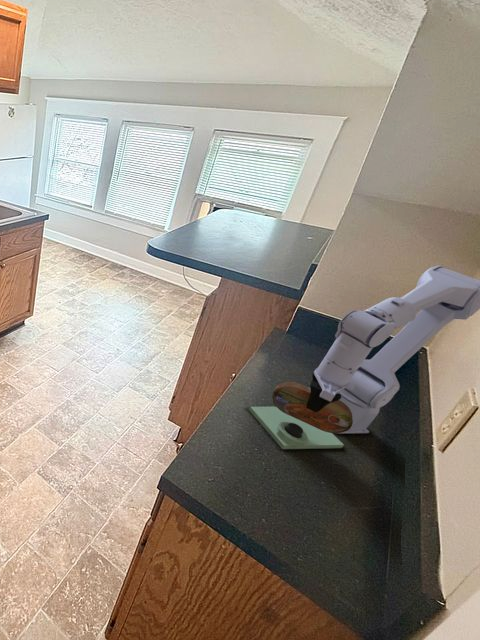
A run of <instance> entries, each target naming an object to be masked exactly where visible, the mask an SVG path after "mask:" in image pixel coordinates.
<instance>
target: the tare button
mask: <svg viewBox="0 0 480 640" xmlns="http://www.w3.org/2000/svg"><path fill="white" fill-rule="evenodd" d="M285 430H286V432H287V433H288V434H290V435H291V436H293V437H296V438H299V437H300V436H301V434H302V433H303V429H302V428H301V427H300V426H299V425H297V424H295V423H289V424H288V426H287V427H286V429H285Z"/></svg>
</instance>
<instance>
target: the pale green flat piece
mask: <svg viewBox="0 0 480 640" xmlns="http://www.w3.org/2000/svg"><path fill="white" fill-rule="evenodd" d="M248 411H249V412H250V413H251V415H253V417H254V418H255V420H257V421H258V423H260V425H261V426H262V427H263V429H265V430H266V432H267V433H268V434H269V435H270V437H271V438H272V439H273V440H274V442H276V443H277V445H278V446H279V447H280V448H281V449H282V450H303V449H304V450H307V449H308V450H309V449H310V450H311V449H317V450H318V449H342V448H343V447H344V446H345V444H344V443H343V442H342V441H341V440H340V439H338V437H337V436H336V435H334V433H329V432H325V431H322V430H320V429H318V428H316V427H313V426H311V425H309V424H307V423H305V422H303V421H300V420H298V419H296V418H294V417H292V416H290V415H287V414H285V413H283V412H282V411H280V410H279V409H278V408H277V407H276V406H249V408H248ZM289 423H295V424H297V425H299V426H300V427H301V428H302V429H303V433H302V434H301V436H300V437H299V438H296V437H293V436H291V435H290V434H288V433H287V432H286V430H285V429H286V427H287V426H288V424H289Z"/></svg>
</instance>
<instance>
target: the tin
mask: <svg viewBox="0 0 480 640" xmlns="http://www.w3.org/2000/svg"><path fill="white" fill-rule="evenodd" d="M310 393H311V389H310V386H307V385H304V384H302V383H299V382H295V381H284V382H282V383H279V384H278V385H277V386H276V387H275V389H274V391H273V392H272V395H271V397H272V399H271V400H272V402H273V404H274V407H277V408H278V409H279V410H280V411H282V412H283V413H285V414H287V415H290V416H292V417H294V418H296V419H298V420H300V421H303V422H305V423H307V424H309V425H311V426H313V427H316V428H318V429H320V430H322V431H325V432H329V433H332V434H338V433H342V432H345V431H347V430H349V429H350V428H351V426H352V424H353V420H352V412H351V410H350V409H349V407H348V406H347V405H346V404H345V403H343V402H342V401H340V400H338V401H334V402H332V403H329V404H328V405H326V406H325V407H324V408H322V409H321V410H320V411H318V412H314V411H312V410H310V409H308V408H306V406H307V402H308V399H309V396H310Z"/></svg>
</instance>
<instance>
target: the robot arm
mask: <svg viewBox="0 0 480 640" xmlns="http://www.w3.org/2000/svg"><path fill="white" fill-rule="evenodd" d="M479 310H480V280H479V279H476V278H474V277H471V276H469V275H466V274H463V273H459V272H457V271H454V270H451V269H448V268H445V267H444V266H443V265H435V266H431V267H430V268H428V269H427V270H425V271H424V272H423V273H422V274H421V275H420V277H419V278H418V280H417V283H416V286H415V288H414V289H412V290H411V291H409V292H408V293H406V294H404V295H403V296H401V297H397V296H396V297H395V296H393V297H389V298H386V299H384V300H381V302H379V303H377V304H374V305H373V306H372V305H371V307H369V308H367V309H364V310H362V309H361V310H360V309H359V310H356V309H353V310H351V311H349V312H348V313H346V314H345V316H343V318H341V320H340V321H339V322H338V325H337V330H336V333H335V334H334V338H335V340H334V342H333V344H332V345H331V346H330V348H329V349H328V351H327V353H326V354H325V356H324V357H323V359H322V360H321V362H320V363H319V365H318V367H317V368H315V370H314V371H312V374H311V376H312V379H311V381H310V383H309V385H310V386H309V388H310V389H311V393H310V396H309V399H308V402H307V406H306V408H308V409H310V410H312V411H314V412H318V411H320V410H321V409H322V408H324V407H325V406H326V405H328V404H329V403H332V402H334V401H338V400H340V401H342V402H343V403H345V404H346V405H347V406H348V407H349V409H350V410H351V412H352V420H353V424H352V426H351V428H350V429H349V430H347V431H345V432H342V433H337V434H341V435H342V434H343V435H344V434H346V435H347V434H369V433H370V430H368V428H369V426H370V425H371V424H372V422H373V421H374V420H375V418H377V416H378V415H379V414H380V409H381V408H382V407H384V406H385V405H387V404H389V402H390V401H391V400H392V399H393V398H394V396H395V395H396V393H398V391H400V388H401V386H400V382H399V380H398V378H397V376H396V372H397V371H398V370H399V369H400V368H402V366H403V365H405V364H406V362H408V361H409V360H410V359H411V358H412V357H413V356H414V355H415V354H416V353H417V352H418V351H419V350H420V349H422V348H423V347H424V346H425V345H426V344H427V343H428V342H429V341H430V340H431V339H433V337H434V336H436V334H437V333H439V332H440V331H441V330H442V329H443V328H444V327H445V326H447V325H448V324H449V323H451V322H453V321H454V320H462V321H463V320H465V321H466V320H468V319H469V318H470V317H472V316H474V315H475V314H476V313H477V312H478V311H479ZM403 326H404V327H403ZM401 327H403V328H402V329H400V331H399V332H397V333H396V334H395V335H394V336H393V338H391V339H390V340H389V341H388V342H387V343H386V344H384V346H383V347H382V348H381V349H380V350H379V351H378V352H377V353H375V354H374V355H373V356H372V357H371V358H370V359H367V357H368V355H369V354H370V353H371V351H372V350H373V348H376V347H378V346H379V345H381V344H382V343H384V342H385V341H386V340H387V339H388V338H389V337H391V336H392V335H393V334H394V332H395V330H397V329H399V328H401ZM367 372H368V373H369V374H368V373H367ZM370 374H371V375H373V376H374V377H373V376H371V375H370ZM375 377H376V378H375Z"/></svg>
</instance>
